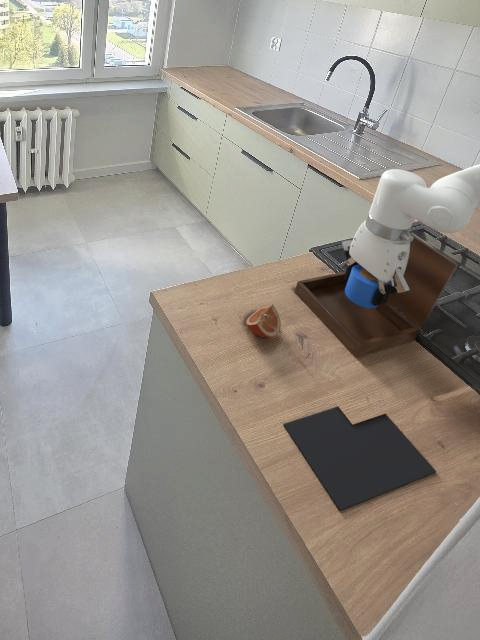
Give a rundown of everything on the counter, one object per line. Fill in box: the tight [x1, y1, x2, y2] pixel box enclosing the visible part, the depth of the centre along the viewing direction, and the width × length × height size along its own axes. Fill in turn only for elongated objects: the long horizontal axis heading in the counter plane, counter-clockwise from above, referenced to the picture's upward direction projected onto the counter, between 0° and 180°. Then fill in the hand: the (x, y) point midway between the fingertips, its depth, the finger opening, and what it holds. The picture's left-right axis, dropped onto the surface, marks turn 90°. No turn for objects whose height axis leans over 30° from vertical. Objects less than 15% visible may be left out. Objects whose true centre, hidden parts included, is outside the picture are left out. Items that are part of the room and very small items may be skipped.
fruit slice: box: [245, 303, 282, 338], centre depth 93 cm, size 8×7×5 cm
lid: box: [359, 232, 459, 329], centre depth 96 cm, size 17×19×5 cm
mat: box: [283, 406, 438, 512], centre depth 72 cm, size 20×13×1 cm, turn 106°
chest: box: [294, 270, 421, 359], centre depth 97 cm, size 17×19×4 cm
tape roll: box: [345, 265, 387, 308], centre depth 94 cm, size 7×7×6 cm
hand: (363, 290), depth 94 cm, fingers closed on tape roll, 6 cm apart
